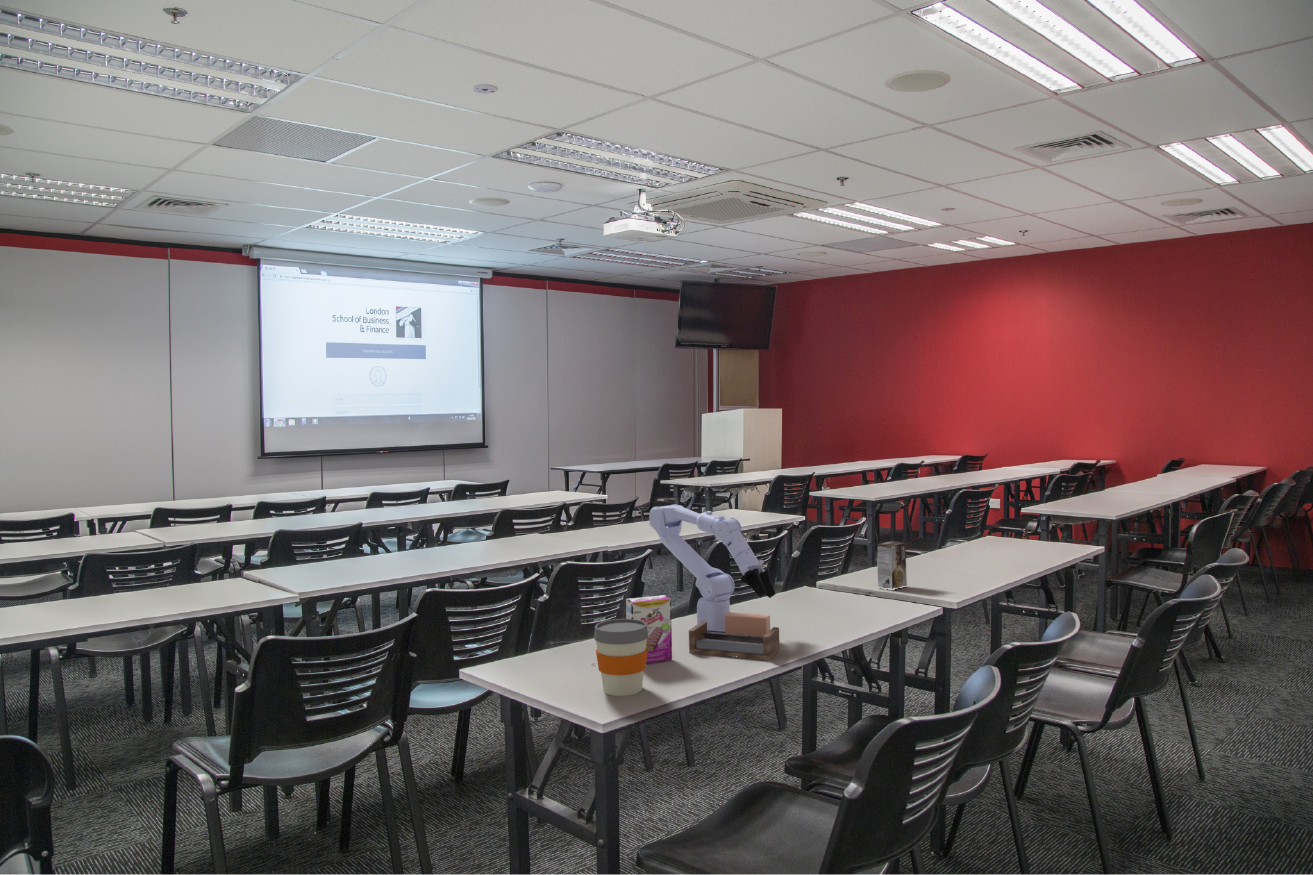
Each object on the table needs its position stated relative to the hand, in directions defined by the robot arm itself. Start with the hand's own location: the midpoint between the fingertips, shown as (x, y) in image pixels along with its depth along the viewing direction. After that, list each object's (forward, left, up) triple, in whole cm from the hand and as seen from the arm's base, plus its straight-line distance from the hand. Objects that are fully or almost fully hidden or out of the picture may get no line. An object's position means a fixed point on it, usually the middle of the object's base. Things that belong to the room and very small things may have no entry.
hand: (768, 595), depth 223 cm
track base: (-6, -14, -12) cm, 19 cm away
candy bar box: (-24, -29, -13) cm, 40 cm away
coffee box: (+23, +78, -13) cm, 82 cm away
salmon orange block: (-6, -2, -12) cm, 14 cm away
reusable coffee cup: (-21, -51, -13) cm, 56 cm away
